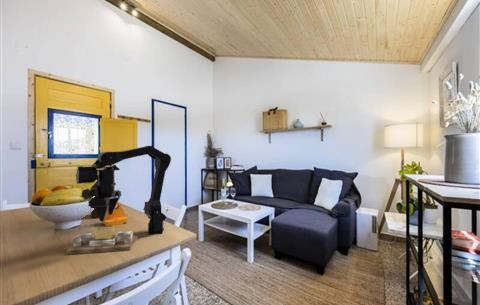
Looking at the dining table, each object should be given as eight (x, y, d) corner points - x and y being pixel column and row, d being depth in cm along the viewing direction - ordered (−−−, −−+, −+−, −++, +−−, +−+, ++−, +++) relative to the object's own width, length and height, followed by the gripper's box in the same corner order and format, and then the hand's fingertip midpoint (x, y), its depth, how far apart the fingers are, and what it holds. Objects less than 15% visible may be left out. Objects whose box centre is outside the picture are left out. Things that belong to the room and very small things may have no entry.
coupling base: (137, 238, 102) (137, 226, 101) (130, 250, 90) (130, 236, 90) (82, 241, 97) (82, 229, 97) (66, 254, 85) (66, 240, 85)
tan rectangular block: (95, 244, 91) (95, 230, 91) (99, 240, 95) (99, 226, 95) (111, 243, 92) (111, 229, 92) (114, 239, 96) (114, 226, 96)
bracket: (105, 227, 114) (106, 204, 114) (103, 224, 120) (103, 202, 120) (128, 223, 122) (128, 201, 121) (124, 219, 127) (124, 199, 127)
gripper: (95, 178, 101) (95, 212, 101) (73, 185, 83) (73, 226, 83) (121, 178, 103) (121, 211, 103) (105, 184, 85) (105, 224, 85)
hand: (106, 217), depth 94 cm, fingers open, 9 cm apart
